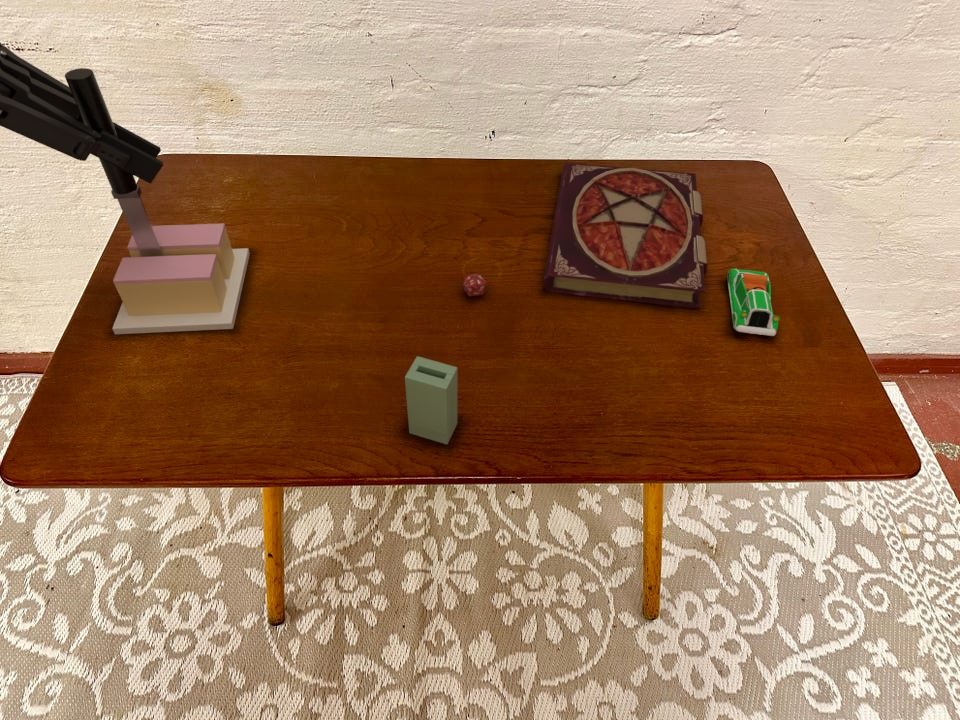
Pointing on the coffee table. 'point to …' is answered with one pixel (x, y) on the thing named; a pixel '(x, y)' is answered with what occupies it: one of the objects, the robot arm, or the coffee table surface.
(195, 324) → the cake
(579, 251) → the book
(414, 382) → the knife stand
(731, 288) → the toy car
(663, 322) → the coffee table surface
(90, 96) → the knife
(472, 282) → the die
